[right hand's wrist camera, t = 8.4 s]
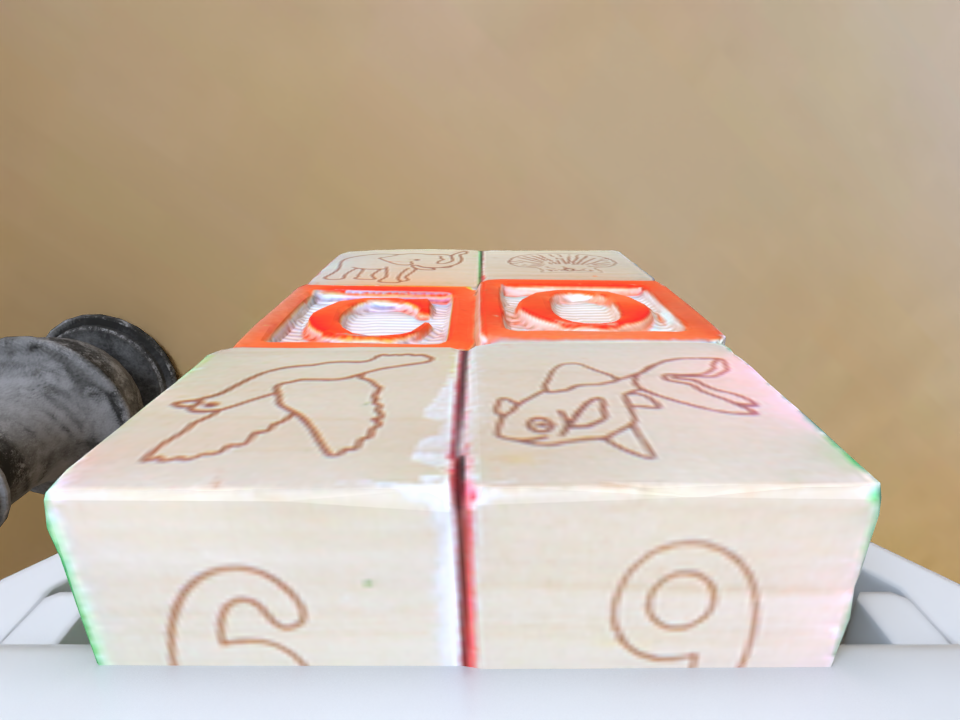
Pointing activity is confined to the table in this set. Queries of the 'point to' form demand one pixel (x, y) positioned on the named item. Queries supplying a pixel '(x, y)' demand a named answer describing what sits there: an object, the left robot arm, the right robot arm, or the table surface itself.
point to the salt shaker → (70, 396)
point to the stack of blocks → (468, 485)
